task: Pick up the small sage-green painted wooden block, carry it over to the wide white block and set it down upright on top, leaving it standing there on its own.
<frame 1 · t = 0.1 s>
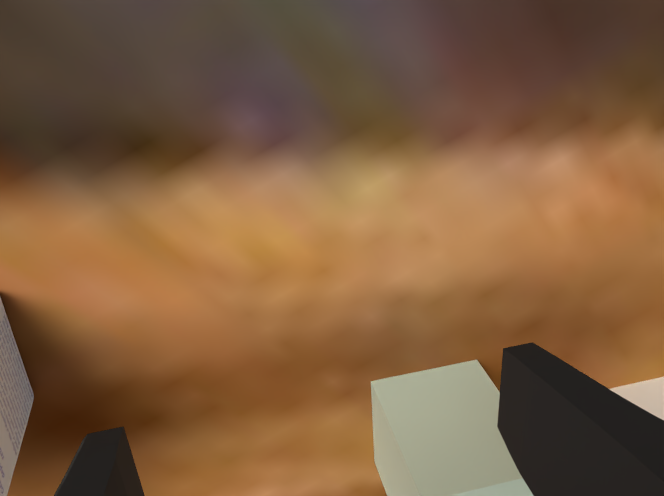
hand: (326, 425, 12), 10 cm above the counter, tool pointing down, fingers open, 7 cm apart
white block: (647, 446, 32), on the counter
sage block: (424, 411, 26), on the counter
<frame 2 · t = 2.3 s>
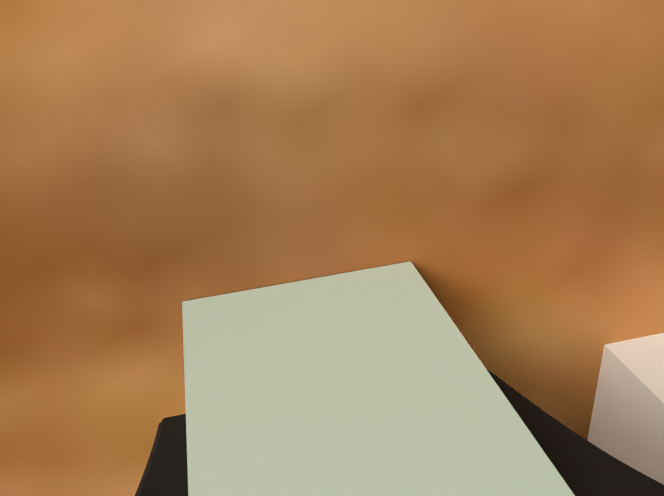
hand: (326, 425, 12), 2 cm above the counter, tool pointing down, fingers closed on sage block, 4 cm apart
sage block: (309, 371, 13), on the counter, touching gripper
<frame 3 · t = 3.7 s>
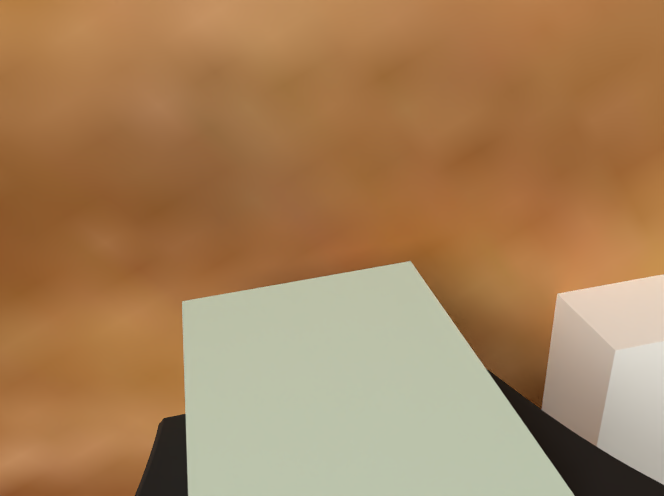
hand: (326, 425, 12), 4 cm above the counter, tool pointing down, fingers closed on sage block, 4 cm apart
sage block: (309, 371, 13), point 2 cm above the counter, touching gripper
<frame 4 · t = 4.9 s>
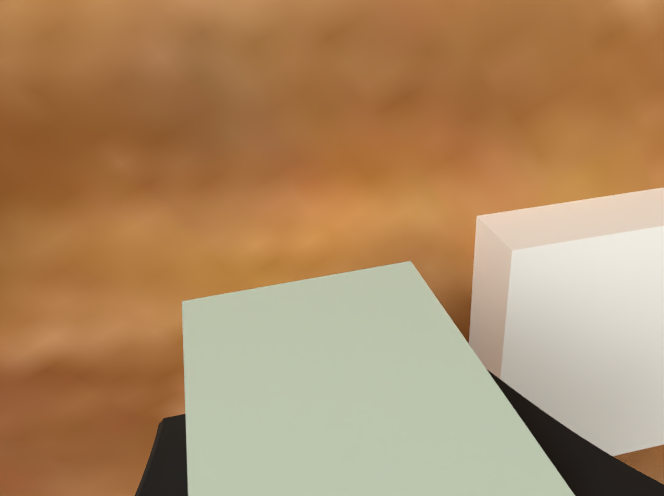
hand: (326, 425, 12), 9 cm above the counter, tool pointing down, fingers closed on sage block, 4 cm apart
white block: (583, 308, 25), on the counter
sage block: (309, 371, 13), point 7 cm above the counter, touching gripper
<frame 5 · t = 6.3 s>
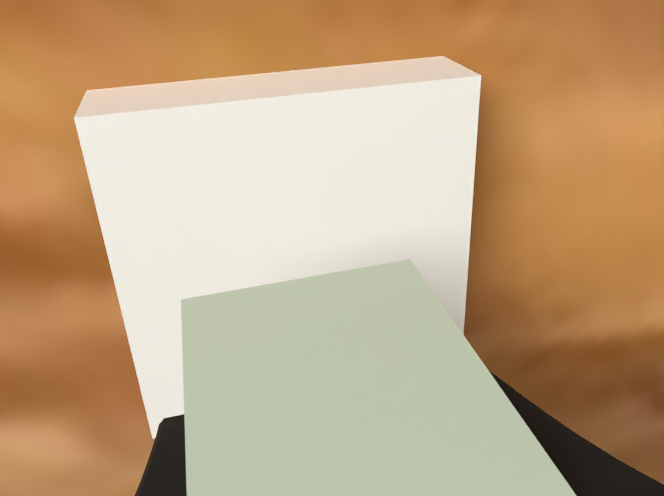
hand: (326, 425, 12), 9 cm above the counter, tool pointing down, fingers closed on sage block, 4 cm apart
white block: (285, 226, 20), on the counter
sage block: (309, 370, 13), point 7 cm above the counter, touching gripper
when the fingers open (6 cm above the counter, at t = 7.7 s): sage block drops 2 cm, point 3 cm above the counter.
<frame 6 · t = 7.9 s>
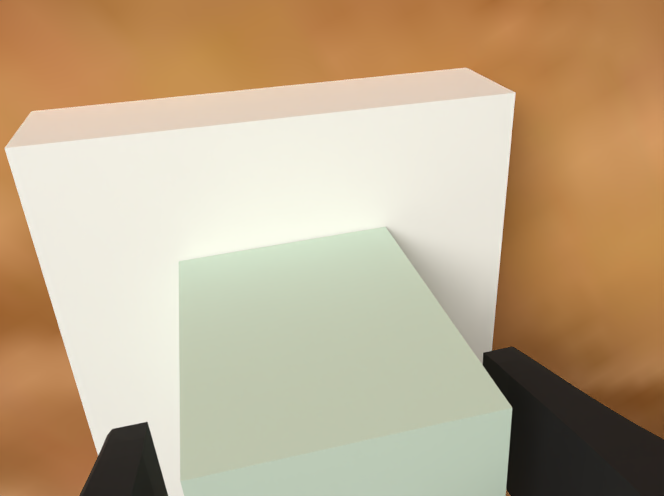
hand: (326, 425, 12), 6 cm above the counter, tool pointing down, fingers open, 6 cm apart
white block: (277, 267, 17), on the counter
sage block: (295, 329, 15), point 3 cm above the counter
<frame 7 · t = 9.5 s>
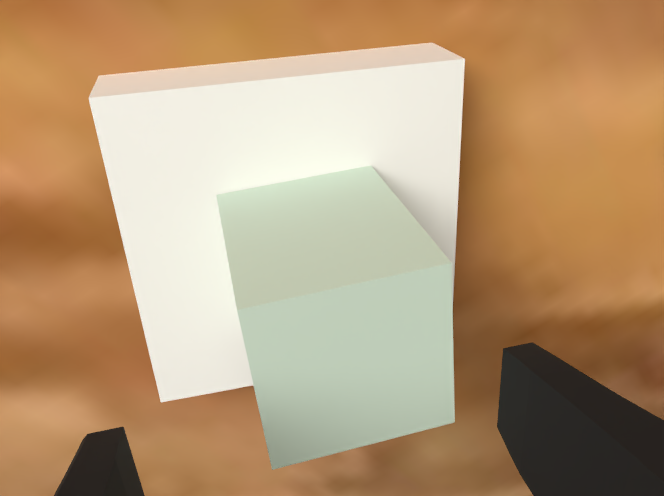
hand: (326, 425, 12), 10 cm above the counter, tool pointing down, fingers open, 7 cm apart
white block: (285, 204, 22), on the counter, touching sage block
sage block: (305, 248, 19), point 2 cm above the counter, touching white block
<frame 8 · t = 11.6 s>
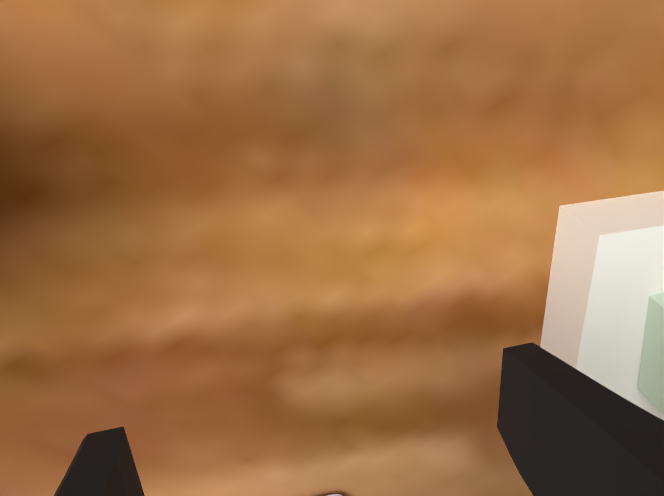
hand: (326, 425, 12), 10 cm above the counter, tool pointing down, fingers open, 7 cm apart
white block: (644, 291, 27), on the counter, touching sage block
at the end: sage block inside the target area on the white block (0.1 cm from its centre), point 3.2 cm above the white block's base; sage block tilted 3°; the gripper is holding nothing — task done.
